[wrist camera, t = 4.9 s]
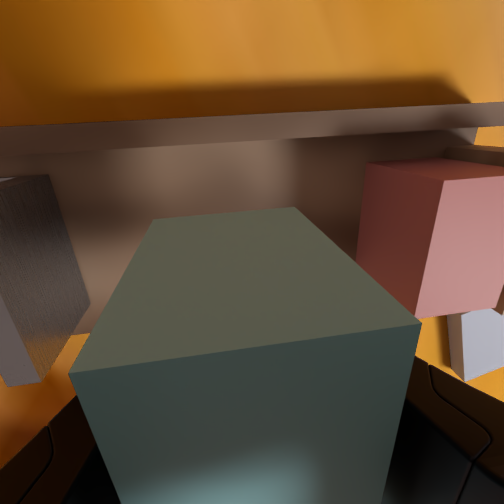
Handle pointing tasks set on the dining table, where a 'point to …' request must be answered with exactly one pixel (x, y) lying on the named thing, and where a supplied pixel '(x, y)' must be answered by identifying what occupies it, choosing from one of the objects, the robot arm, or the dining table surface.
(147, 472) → the teal block
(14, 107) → the dining table surface
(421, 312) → the pink block
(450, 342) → the lying grey book
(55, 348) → the bookend
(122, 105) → the dining table surface
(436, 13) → the dining table surface
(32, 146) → the shelf board
